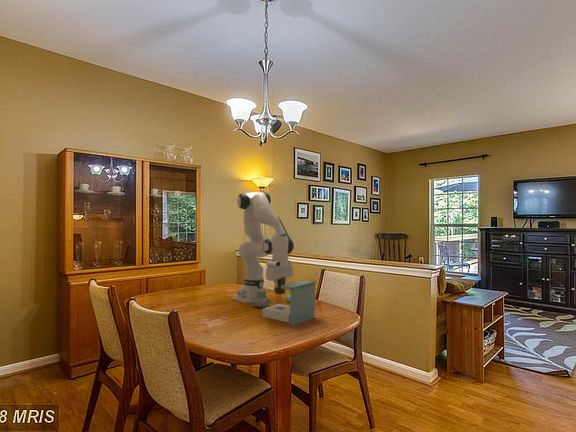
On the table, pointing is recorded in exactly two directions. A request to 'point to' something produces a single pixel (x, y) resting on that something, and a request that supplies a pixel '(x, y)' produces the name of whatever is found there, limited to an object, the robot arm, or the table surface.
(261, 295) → the air freshener
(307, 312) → the teal stepped panel
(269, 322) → the table surface
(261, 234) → the robot arm
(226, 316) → the table surface
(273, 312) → the socket block
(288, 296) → the mint green bar
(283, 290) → the peg
